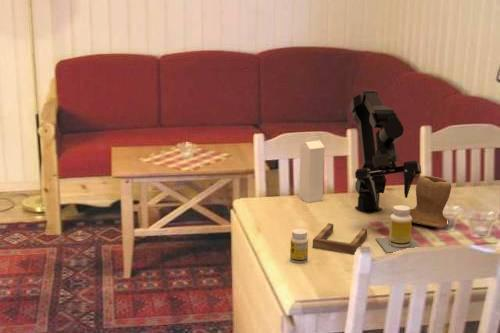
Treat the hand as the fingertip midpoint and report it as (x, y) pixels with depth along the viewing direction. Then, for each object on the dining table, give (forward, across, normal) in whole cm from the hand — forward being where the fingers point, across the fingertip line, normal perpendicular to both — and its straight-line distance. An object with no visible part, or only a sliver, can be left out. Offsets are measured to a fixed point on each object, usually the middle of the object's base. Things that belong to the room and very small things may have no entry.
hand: (390, 199), depth 219 cm
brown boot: (+4, +6, +20) cm, 22 cm away
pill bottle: (+14, +2, -1) cm, 14 cm away
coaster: (+14, +2, -1) cm, 14 cm away
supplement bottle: (+18, -22, -21) cm, 36 cm away
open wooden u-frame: (+12, -15, -6) cm, 20 cm away
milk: (-9, -33, +24) cm, 42 cm away
